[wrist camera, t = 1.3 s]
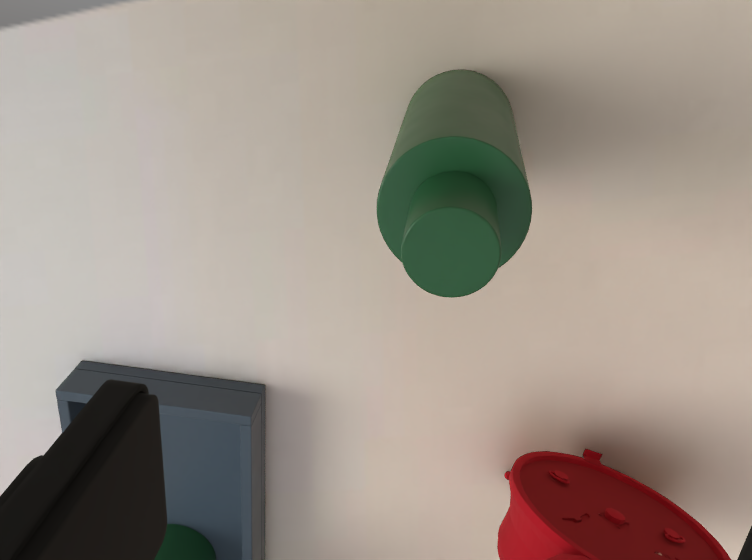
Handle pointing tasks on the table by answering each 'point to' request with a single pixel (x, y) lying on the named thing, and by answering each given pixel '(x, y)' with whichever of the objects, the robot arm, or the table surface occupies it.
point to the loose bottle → (455, 185)
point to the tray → (198, 450)
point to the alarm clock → (594, 515)
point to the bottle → (184, 545)
